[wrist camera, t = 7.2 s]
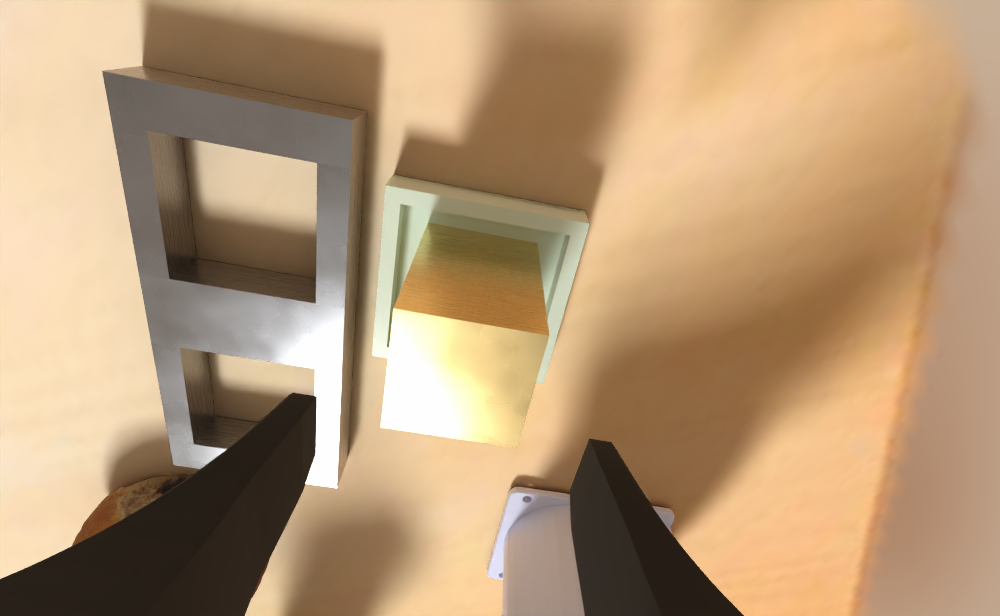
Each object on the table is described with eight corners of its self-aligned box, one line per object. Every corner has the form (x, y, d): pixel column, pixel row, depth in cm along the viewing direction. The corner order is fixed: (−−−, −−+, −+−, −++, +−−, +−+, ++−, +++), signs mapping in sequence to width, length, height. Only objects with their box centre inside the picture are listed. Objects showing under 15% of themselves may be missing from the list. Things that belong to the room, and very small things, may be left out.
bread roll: (132, 460, 33) (16, 589, 28) (166, 437, 26) (20, 604, 21) (260, 534, 36) (178, 661, 31) (320, 533, 30) (227, 696, 24)
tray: (584, 210, 20) (589, 223, 19) (541, 363, 24) (543, 383, 23) (393, 174, 20) (385, 185, 18) (379, 337, 24) (372, 355, 22)
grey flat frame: (367, 111, 19) (352, 120, 17) (347, 458, 27) (336, 488, 26) (141, 66, 18) (102, 71, 16) (195, 436, 27) (173, 464, 25)
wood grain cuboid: (537, 243, 21) (549, 335, 15) (514, 334, 23) (516, 447, 17) (427, 222, 20) (393, 308, 14) (415, 317, 23) (381, 426, 16)
